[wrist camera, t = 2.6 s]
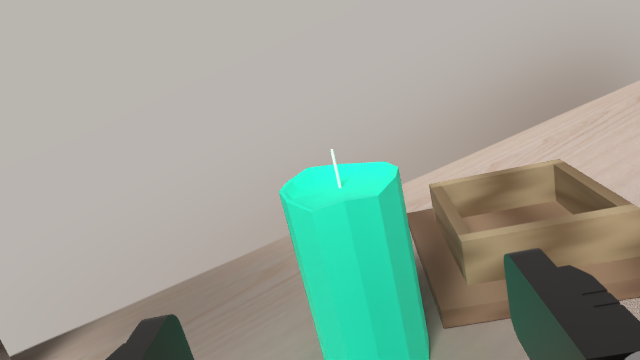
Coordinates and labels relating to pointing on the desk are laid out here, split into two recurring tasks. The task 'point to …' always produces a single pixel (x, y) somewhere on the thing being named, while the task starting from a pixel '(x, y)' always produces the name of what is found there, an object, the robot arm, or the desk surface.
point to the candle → (357, 261)
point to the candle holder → (521, 235)
